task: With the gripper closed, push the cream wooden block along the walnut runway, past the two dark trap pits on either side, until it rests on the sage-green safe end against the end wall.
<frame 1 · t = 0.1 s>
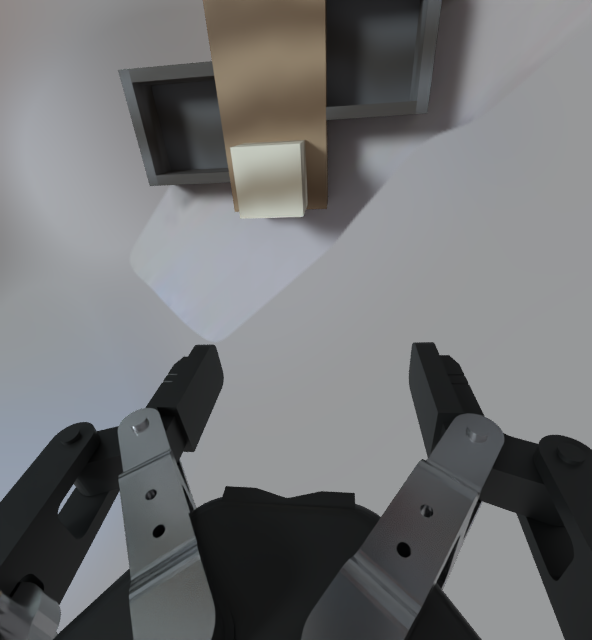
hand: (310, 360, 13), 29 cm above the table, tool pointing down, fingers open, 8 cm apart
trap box: (275, 62, 32), on the table
block: (277, 174, 33), point 4 cm above the table, touching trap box
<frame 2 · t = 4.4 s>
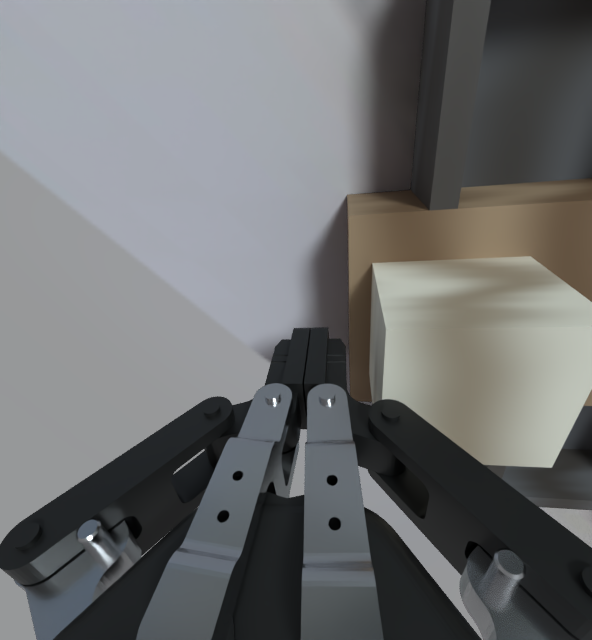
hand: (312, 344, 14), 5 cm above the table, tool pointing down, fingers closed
block: (438, 322, 15), point 4 cm above the table, touching gripper, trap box
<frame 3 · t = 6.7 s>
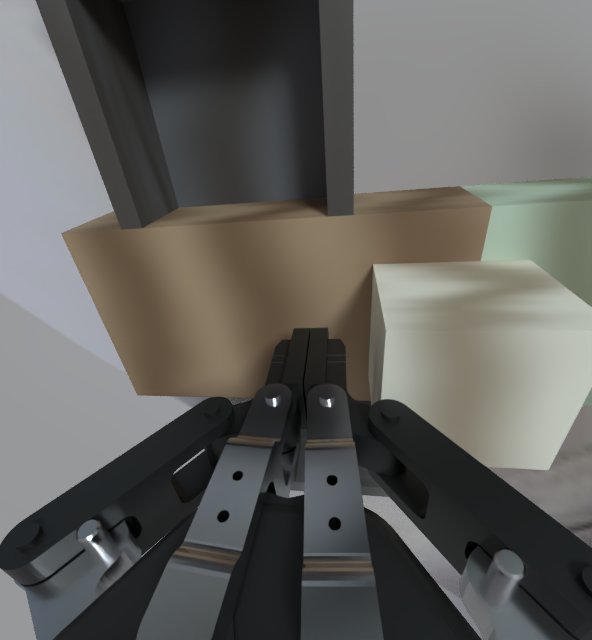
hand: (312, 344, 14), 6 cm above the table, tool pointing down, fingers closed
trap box: (352, 285, 19), on the table
block: (438, 324, 15), point 4 cm above the table, touching gripper
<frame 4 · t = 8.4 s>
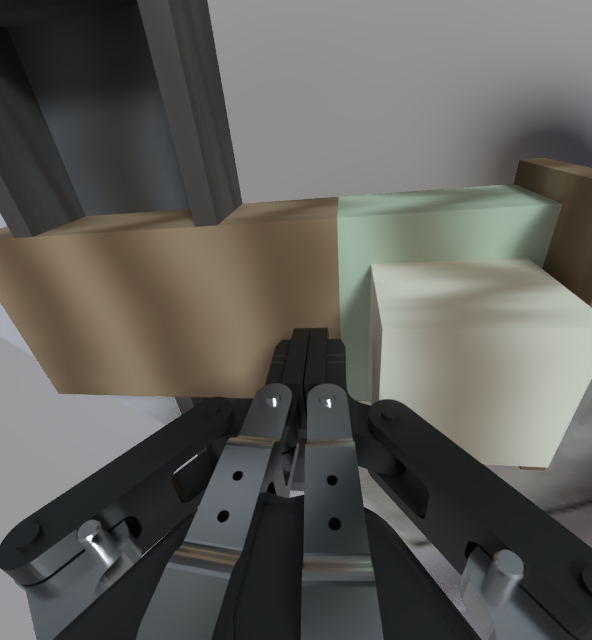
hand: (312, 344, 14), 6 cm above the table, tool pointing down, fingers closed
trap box: (257, 289, 20), on the table
block: (437, 323, 15), point 4 cm above the table, touching gripper
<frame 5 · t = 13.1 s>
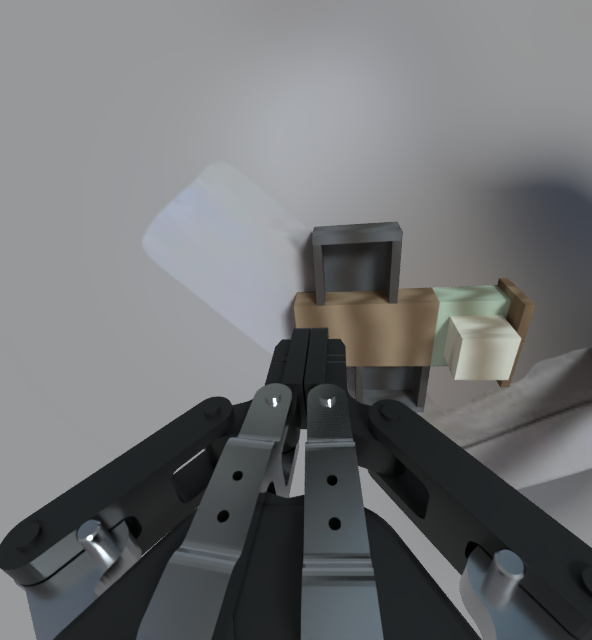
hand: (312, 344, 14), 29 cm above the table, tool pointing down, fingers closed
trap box: (390, 320, 46), on the table
block: (471, 335, 42), point 4 cm above the table, touching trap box
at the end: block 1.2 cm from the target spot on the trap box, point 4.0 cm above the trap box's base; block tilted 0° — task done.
